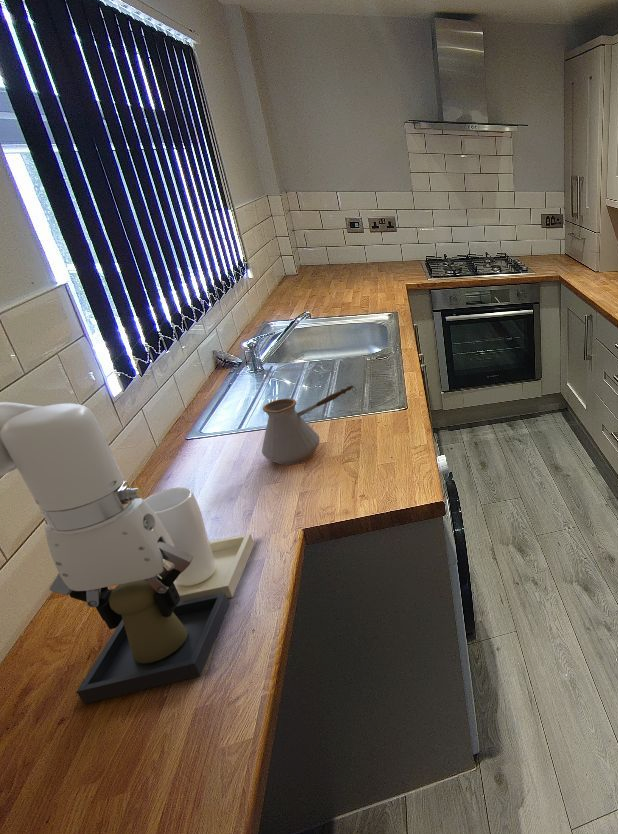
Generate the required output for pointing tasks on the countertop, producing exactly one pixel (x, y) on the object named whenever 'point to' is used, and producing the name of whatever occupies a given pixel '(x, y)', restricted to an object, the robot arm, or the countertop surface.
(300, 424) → the coffee pot
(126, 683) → the charcoal tray
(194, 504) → the drinking glass
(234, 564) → the cream tray
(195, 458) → the countertop surface
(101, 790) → the countertop surface
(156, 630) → the cork
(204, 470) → the countertop surface
